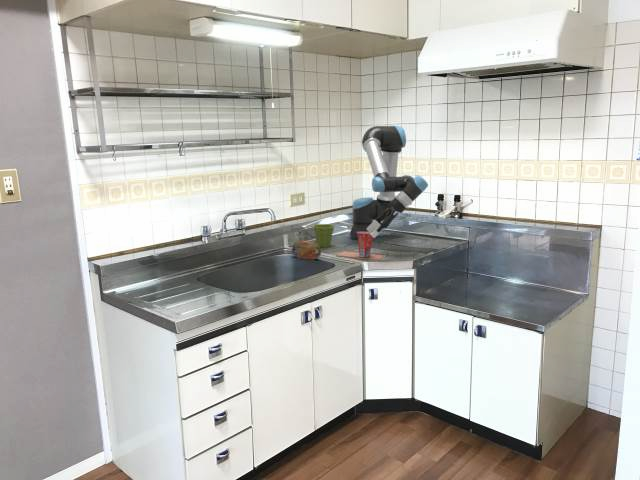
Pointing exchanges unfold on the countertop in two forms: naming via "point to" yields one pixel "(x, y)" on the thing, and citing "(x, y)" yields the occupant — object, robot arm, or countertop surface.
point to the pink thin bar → (371, 253)
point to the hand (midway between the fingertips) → (370, 233)
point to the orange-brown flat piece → (306, 250)
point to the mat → (357, 255)
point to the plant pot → (323, 234)
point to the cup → (365, 243)
